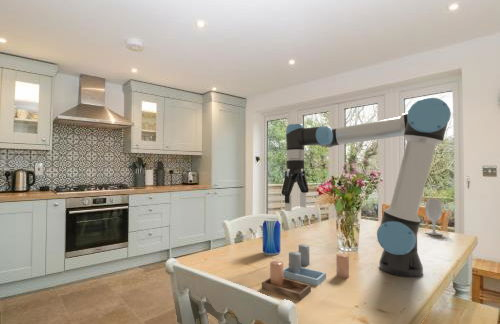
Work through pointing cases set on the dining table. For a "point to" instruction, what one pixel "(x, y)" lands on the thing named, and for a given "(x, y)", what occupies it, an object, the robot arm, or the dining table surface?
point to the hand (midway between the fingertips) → (296, 209)
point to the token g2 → (304, 254)
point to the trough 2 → (306, 276)
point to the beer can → (271, 237)
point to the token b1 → (295, 262)
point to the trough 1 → (288, 288)
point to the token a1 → (276, 273)
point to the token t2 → (342, 265)
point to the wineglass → (433, 213)
